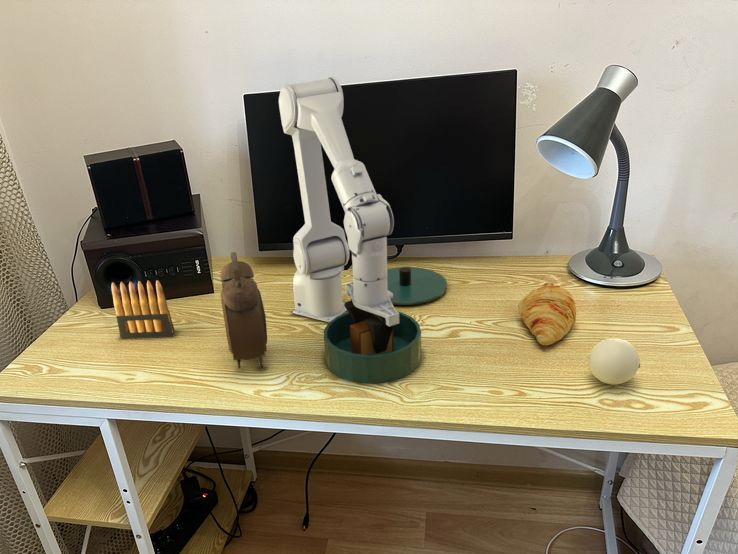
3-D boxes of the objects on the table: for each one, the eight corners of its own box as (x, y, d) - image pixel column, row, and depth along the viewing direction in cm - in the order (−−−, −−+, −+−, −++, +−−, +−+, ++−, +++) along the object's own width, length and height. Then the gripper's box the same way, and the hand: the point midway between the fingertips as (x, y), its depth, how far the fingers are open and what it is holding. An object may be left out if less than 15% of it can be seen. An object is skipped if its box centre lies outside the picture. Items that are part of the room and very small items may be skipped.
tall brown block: (351, 356, 114) (349, 325, 111) (384, 345, 116) (383, 314, 113) (360, 364, 111) (358, 332, 108) (393, 353, 114) (393, 321, 110)
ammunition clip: (120, 338, 127) (106, 284, 121) (123, 334, 129) (109, 280, 123) (172, 336, 126) (160, 281, 120) (175, 332, 128) (163, 277, 122)
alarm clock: (275, 374, 112) (261, 270, 101) (234, 381, 111) (216, 276, 100) (266, 334, 124) (253, 238, 114) (228, 340, 123) (212, 243, 113)
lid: (355, 303, 132) (354, 284, 130) (375, 269, 146) (374, 250, 144) (439, 310, 127) (440, 290, 124) (452, 274, 140) (452, 255, 138)
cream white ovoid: (639, 395, 98) (649, 355, 95) (588, 392, 100) (595, 352, 96) (628, 360, 107) (636, 322, 103) (580, 358, 108) (586, 320, 105)
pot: (313, 377, 110) (311, 350, 107) (340, 329, 123) (339, 304, 121) (410, 389, 105) (410, 361, 102) (427, 337, 118) (428, 312, 115)
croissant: (559, 369, 112) (589, 336, 107) (509, 341, 112) (536, 308, 107) (559, 310, 129) (584, 280, 124) (515, 286, 129) (538, 255, 124)
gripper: (415, 283, 101) (414, 355, 108) (368, 254, 113) (370, 321, 120) (377, 295, 99) (379, 368, 106) (333, 264, 110) (337, 332, 117)
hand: (372, 344), depth 113 cm, fingers open, 5 cm apart
